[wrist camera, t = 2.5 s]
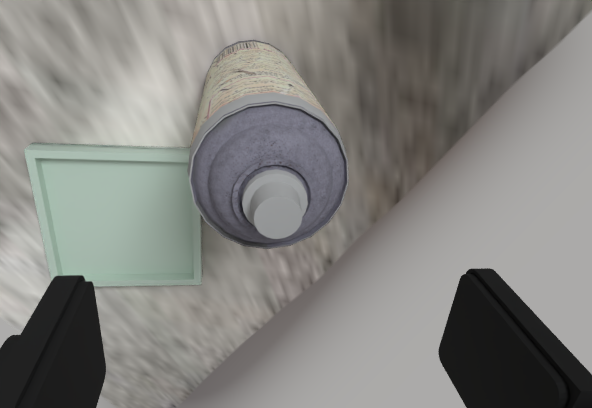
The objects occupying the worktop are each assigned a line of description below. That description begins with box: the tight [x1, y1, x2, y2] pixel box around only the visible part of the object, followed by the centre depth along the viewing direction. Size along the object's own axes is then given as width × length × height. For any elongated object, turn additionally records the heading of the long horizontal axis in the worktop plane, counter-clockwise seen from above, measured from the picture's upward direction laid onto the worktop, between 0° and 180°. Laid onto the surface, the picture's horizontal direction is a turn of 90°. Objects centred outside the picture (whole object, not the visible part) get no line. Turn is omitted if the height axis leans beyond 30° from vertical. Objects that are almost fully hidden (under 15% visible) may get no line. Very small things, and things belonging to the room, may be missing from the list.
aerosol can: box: [187, 40, 349, 249], centre depth 24 cm, size 7×7×20 cm
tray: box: [24, 143, 202, 287], centre depth 35 cm, size 12×12×2 cm
